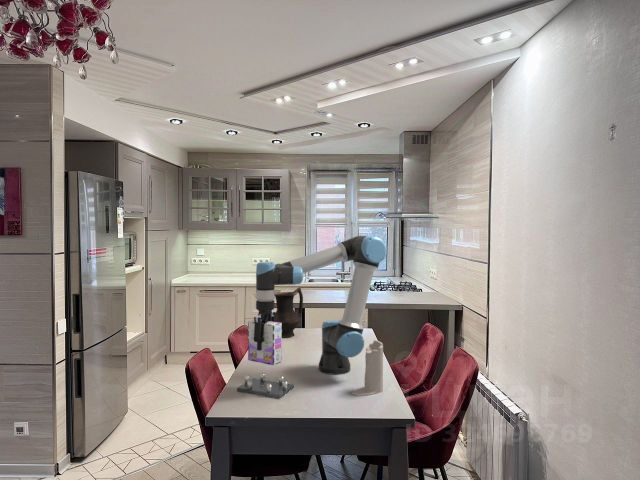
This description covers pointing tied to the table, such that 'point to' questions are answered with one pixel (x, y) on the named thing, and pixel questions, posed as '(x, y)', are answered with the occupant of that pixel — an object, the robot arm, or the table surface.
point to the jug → (288, 311)
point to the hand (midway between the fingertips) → (264, 355)
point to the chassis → (265, 387)
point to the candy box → (266, 343)
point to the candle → (373, 370)
